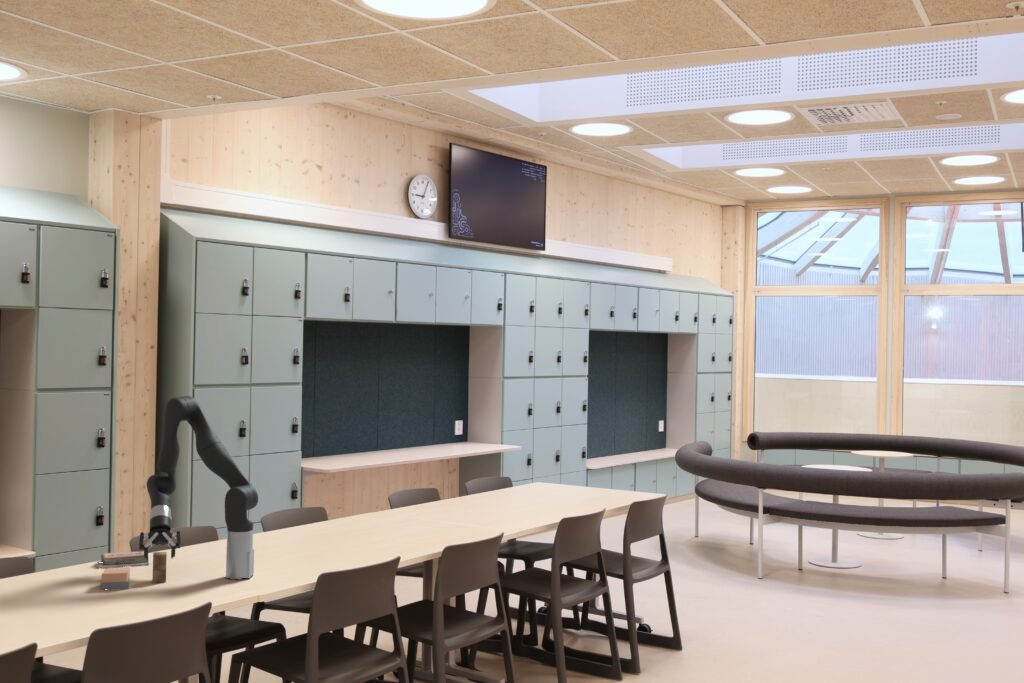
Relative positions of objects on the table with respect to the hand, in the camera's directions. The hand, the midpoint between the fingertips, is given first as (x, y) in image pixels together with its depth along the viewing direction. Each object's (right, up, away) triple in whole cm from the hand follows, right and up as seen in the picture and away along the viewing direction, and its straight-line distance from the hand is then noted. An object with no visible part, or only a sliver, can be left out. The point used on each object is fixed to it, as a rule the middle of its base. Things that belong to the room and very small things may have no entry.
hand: (159, 557), depth 349 cm
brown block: (+1, -8, -3) cm, 8 cm away
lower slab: (-11, -8, -12) cm, 18 cm away
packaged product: (-22, -8, +23) cm, 33 cm away
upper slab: (-11, -5, -12) cm, 17 cm away
